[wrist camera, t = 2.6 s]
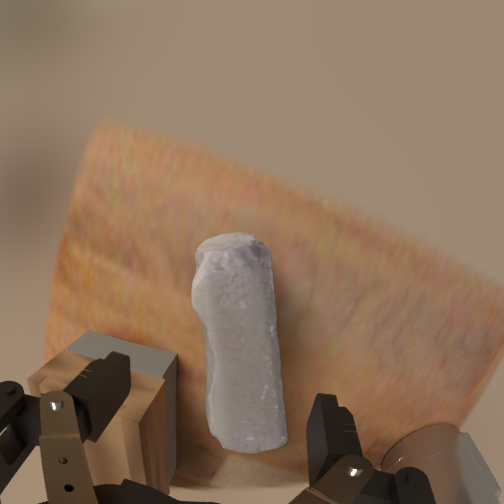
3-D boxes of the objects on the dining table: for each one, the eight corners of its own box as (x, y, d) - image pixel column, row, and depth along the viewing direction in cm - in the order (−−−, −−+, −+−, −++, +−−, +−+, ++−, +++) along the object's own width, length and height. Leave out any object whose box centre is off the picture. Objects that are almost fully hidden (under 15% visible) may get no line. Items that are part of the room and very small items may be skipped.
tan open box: (165, 379, 21) (138, 423, 16) (169, 492, 24) (154, 529, 19) (64, 348, 22) (27, 378, 17) (90, 464, 25) (68, 495, 20)
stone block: (288, 373, 24) (288, 466, 14) (228, 374, 25) (200, 463, 15) (281, 220, 22) (279, 245, 12) (212, 224, 23) (158, 252, 13)
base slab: (179, 350, 25) (162, 375, 21) (177, 464, 28) (167, 490, 24) (91, 328, 26) (67, 347, 22) (107, 442, 29) (92, 464, 25)
